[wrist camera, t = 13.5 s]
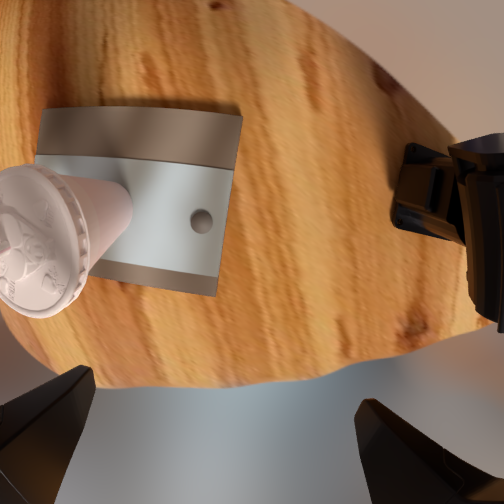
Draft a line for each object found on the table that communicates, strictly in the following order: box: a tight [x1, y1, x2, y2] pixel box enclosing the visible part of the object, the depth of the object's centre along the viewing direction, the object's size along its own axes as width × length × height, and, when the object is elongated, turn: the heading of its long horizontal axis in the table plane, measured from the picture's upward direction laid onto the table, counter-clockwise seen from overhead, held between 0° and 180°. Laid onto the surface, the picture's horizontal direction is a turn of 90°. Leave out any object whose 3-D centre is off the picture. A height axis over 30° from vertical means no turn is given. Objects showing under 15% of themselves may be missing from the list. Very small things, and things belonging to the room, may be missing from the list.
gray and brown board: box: [35, 106, 243, 297], centre depth 18 cm, size 15×12×1 cm
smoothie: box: [0, 164, 133, 318], centre depth 12 cm, size 6×6×14 cm
